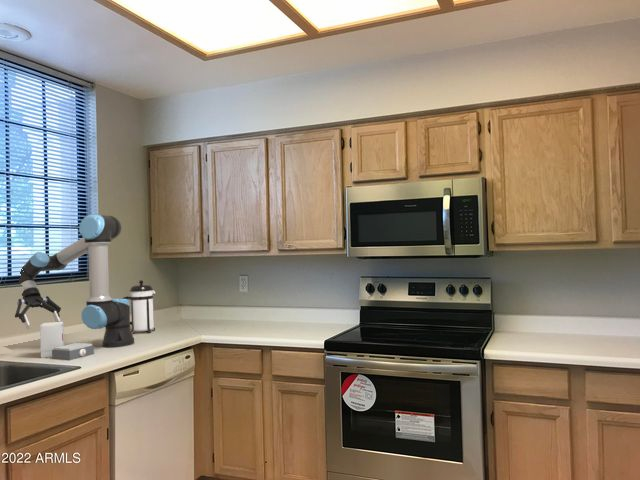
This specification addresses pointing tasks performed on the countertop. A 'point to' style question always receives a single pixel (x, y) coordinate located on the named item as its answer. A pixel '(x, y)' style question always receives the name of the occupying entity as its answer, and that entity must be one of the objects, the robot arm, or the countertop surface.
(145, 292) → the coffee press
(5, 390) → the countertop surface
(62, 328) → the supplement box
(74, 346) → the kitchen scale
